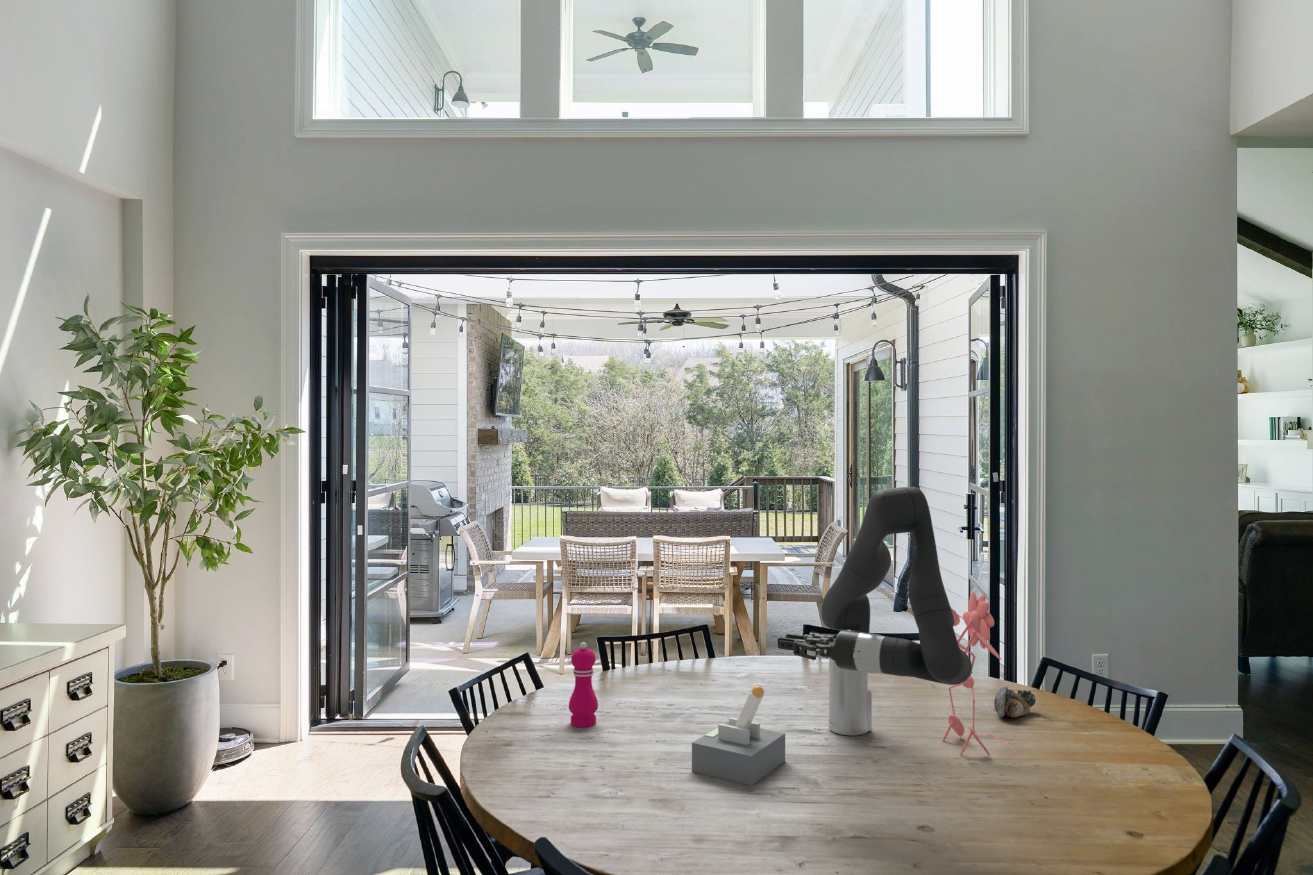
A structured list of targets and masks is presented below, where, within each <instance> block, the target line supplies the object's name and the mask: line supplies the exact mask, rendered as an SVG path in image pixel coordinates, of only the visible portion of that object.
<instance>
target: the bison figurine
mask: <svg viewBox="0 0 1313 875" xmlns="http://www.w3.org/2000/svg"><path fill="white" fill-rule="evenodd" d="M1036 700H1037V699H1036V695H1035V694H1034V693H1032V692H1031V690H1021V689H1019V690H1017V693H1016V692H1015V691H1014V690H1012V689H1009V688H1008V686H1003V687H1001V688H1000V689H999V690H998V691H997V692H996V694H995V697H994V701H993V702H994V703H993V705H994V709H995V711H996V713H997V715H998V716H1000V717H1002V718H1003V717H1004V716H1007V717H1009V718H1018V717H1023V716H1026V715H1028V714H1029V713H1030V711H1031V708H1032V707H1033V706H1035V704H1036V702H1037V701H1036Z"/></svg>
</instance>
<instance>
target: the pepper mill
mask: <svg viewBox="0 0 1313 875" xmlns="http://www.w3.org/2000/svg"><path fill="white" fill-rule="evenodd" d="M587 647H588V644H587V642H584V641H583V642H580V644H579V648H577V649H576V650H574V651H573V652H572V654H571V658H570V661H571V662H570V663H571V665H572V666H573V667H574V668H573V669H572V671H573V676H574V680H575V681H574V689H573V691H572V693H571V696H570V697H569V702H568V710H569V712H570V713H571V714H572V715H571V716H570V725H571V726H572V727H575V728H584V729H585V728H590V727H593V726H595V725H596V724H597V716H596V714H595V713H596V712H597V711H598V708H599V701H598V697H597V696H596V692H595V690H594V686H593V682H592V681H593V680H592V677H593V675H594V668H593V667H594V665H595V663H596V654H595V652H594V651H593V650H592V649H589V648H587Z"/></svg>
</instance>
